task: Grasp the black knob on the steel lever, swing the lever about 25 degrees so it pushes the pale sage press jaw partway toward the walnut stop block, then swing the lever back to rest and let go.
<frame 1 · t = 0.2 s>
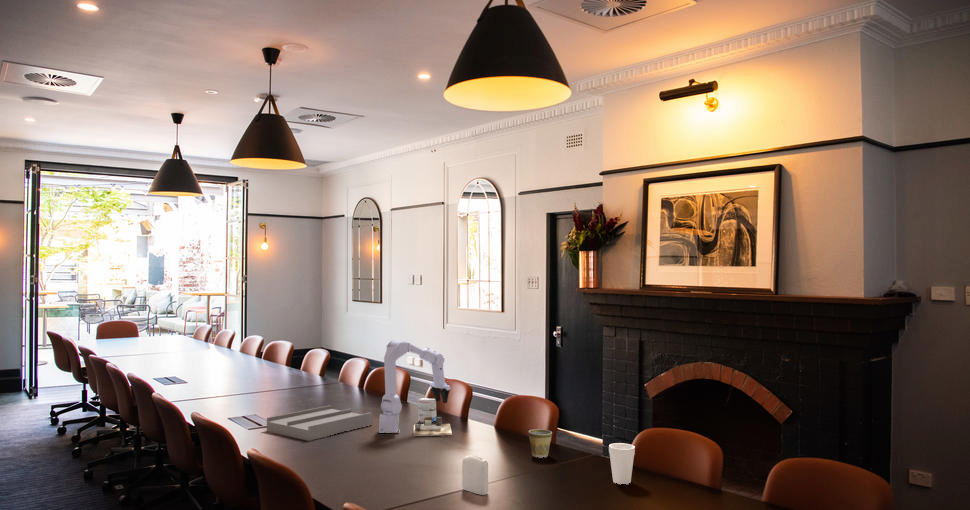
hand: (441, 401, 334), 11 cm above the table, tool pointing down, fingers open, 5 cm apart
white upright slab: (475, 492, 225), on the table
foam cup: (621, 482, 238), on the table
ink box: (427, 422, 336), on the table, touching gripper
press jaw: (428, 424, 314), point 3 cm above the table, slide at 0.0 cm
lever: (428, 423, 311), point 5 cm above the table, hinge at 0.0°
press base: (432, 431, 314), on the table
ceramic cup: (540, 455, 274), on the table
desk organizer: (320, 429, 320), on the table
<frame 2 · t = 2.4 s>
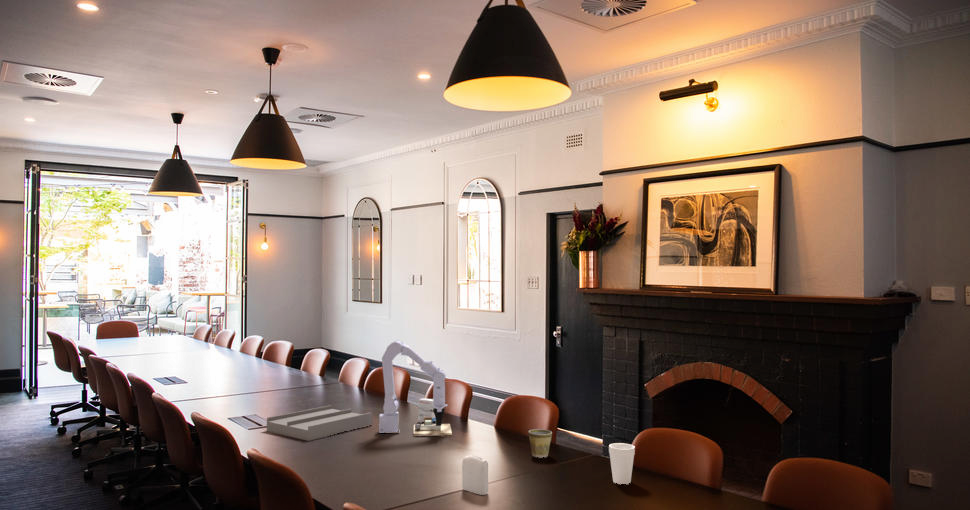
hand: (438, 424, 312), 4 cm above the table, tool pointing down, fingers closed on lever, 3 cm apart
ink box: (427, 422, 336), on the table
lever: (428, 423, 311), point 5 cm above the table, hinge at 0.0°, touching gripper
everything else where it was.
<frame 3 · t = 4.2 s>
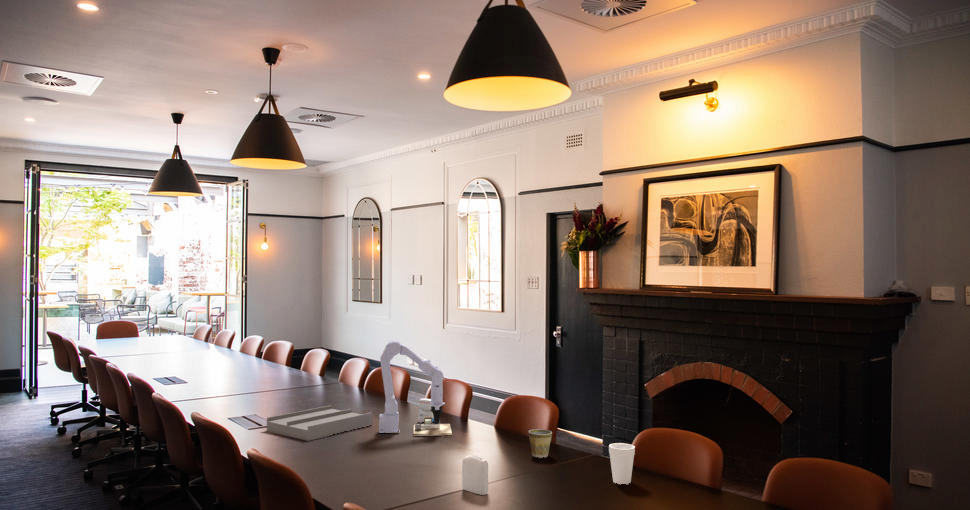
hand: (436, 421, 316), 4 cm above the table, tool pointing down, fingers open, 4 cm apart
press jaw: (428, 423, 316), point 3 cm above the table, slide at 1.9 cm
lever: (427, 422, 313), point 5 cm above the table, hinge at 21.7°, touching gripper
everything else where it was.
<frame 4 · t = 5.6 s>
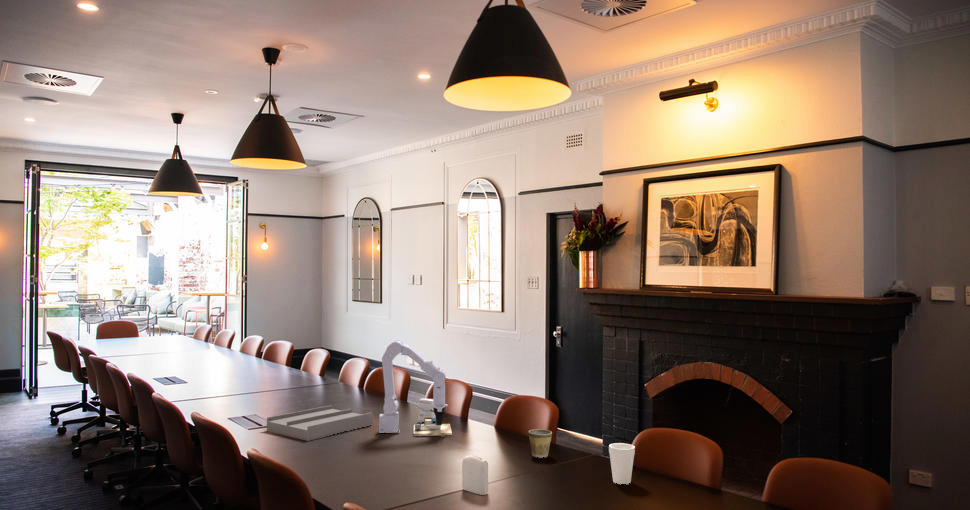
hand: (439, 423, 312), 4 cm above the table, tool pointing down, fingers open, 5 cm apart
lever: (428, 423, 312), point 5 cm above the table, hinge at 9.0°, touching gripper
everything else where it was.
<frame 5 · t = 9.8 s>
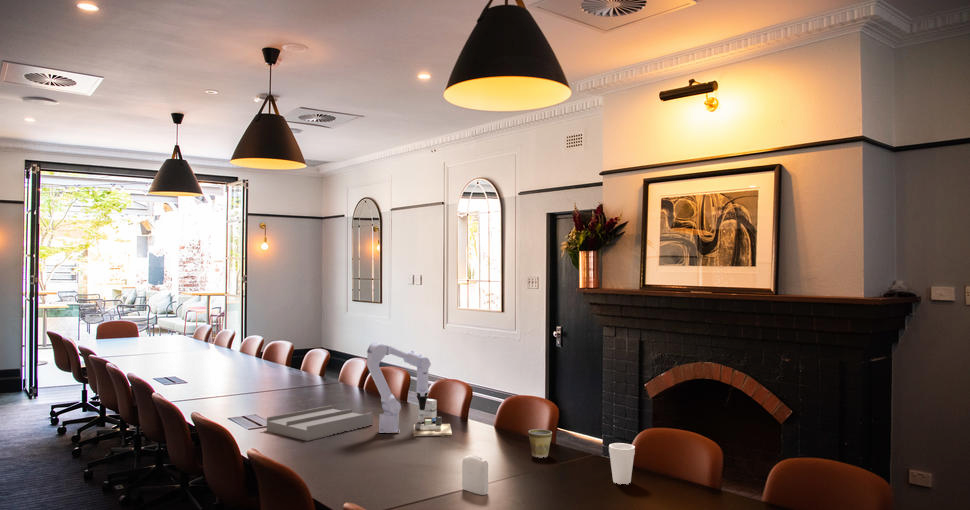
hand: (422, 408, 321), 10 cm above the table, tool pointing down, fingers open, 7 cm apart
lever: (428, 423, 311), point 5 cm above the table, hinge at 2.4°
everything else where it was.
at the end: press jaw slide at 2.0 cm; lever at +2° (first picture: +0°); the gripper is holding nothing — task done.
